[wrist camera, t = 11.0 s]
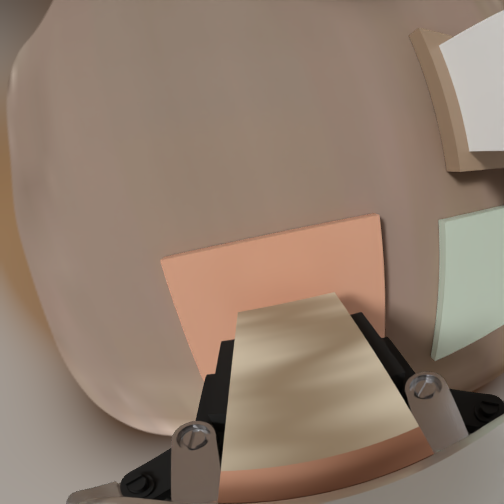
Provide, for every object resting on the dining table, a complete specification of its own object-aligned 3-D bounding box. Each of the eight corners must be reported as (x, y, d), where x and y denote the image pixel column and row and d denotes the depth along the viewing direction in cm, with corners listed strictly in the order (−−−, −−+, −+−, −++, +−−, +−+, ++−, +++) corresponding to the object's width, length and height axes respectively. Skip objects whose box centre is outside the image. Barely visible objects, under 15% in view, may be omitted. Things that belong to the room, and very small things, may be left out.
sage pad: (525, 200, 11) (531, 201, 11) (515, 310, 14) (519, 313, 13) (438, 220, 12) (444, 221, 11) (430, 356, 14) (434, 361, 13)
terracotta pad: (374, 213, 12) (379, 214, 11) (379, 364, 14) (383, 370, 13) (164, 256, 12) (160, 260, 12) (215, 398, 15) (214, 405, 14)
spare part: (334, 292, 11) (434, 453, 3) (340, 366, 12) (396, 511, 4) (237, 312, 11) (217, 502, 3) (257, 383, 12) (260, 541, 4)
